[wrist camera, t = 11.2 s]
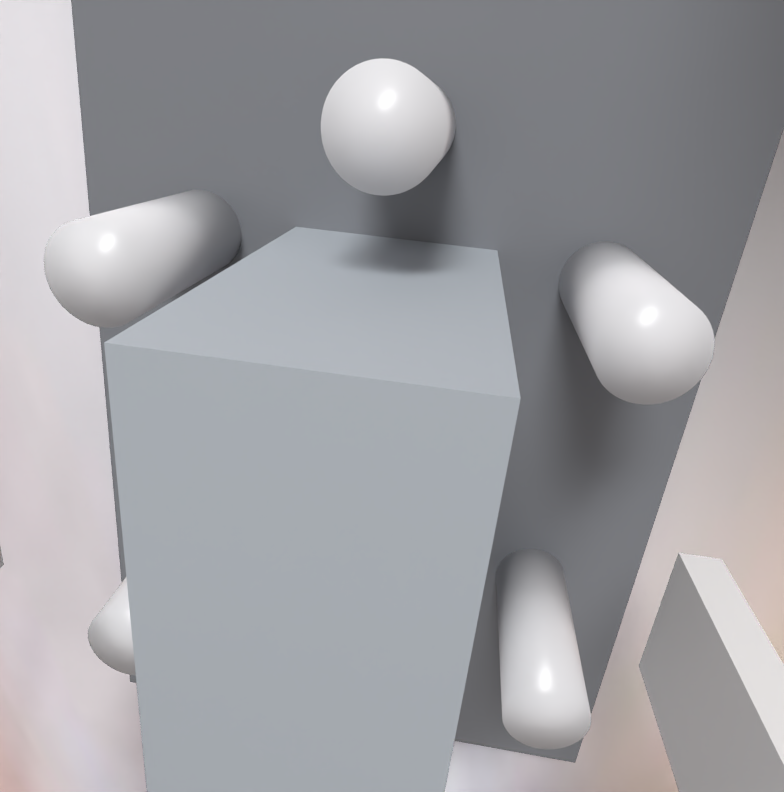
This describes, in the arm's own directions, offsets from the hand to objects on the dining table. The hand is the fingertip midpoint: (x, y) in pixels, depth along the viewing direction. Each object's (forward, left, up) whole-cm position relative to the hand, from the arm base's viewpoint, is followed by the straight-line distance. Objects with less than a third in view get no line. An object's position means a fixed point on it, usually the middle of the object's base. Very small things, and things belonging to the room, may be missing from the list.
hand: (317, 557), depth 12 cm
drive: (0, 0, -6) cm, 6 cm away
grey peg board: (0, 0, -7) cm, 7 cm away
